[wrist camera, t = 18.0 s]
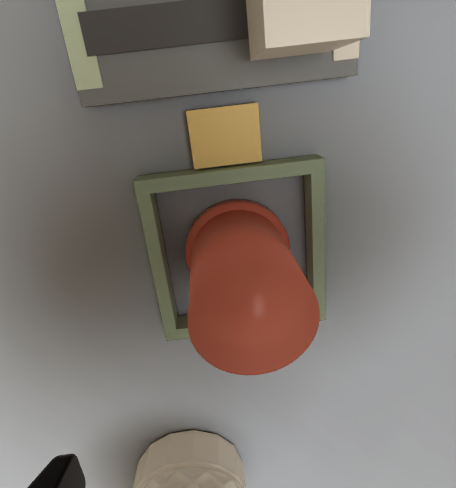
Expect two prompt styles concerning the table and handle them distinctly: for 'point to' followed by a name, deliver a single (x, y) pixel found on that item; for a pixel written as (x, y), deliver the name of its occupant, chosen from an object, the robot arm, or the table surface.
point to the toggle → (304, 26)
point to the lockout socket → (229, 172)
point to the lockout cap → (247, 290)
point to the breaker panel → (176, 50)
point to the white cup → (190, 463)
